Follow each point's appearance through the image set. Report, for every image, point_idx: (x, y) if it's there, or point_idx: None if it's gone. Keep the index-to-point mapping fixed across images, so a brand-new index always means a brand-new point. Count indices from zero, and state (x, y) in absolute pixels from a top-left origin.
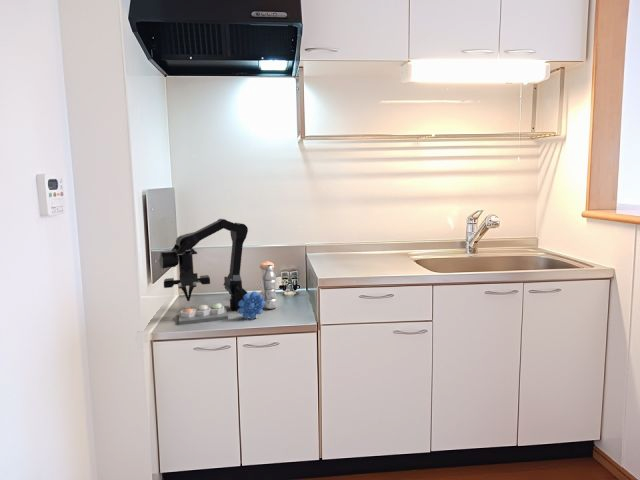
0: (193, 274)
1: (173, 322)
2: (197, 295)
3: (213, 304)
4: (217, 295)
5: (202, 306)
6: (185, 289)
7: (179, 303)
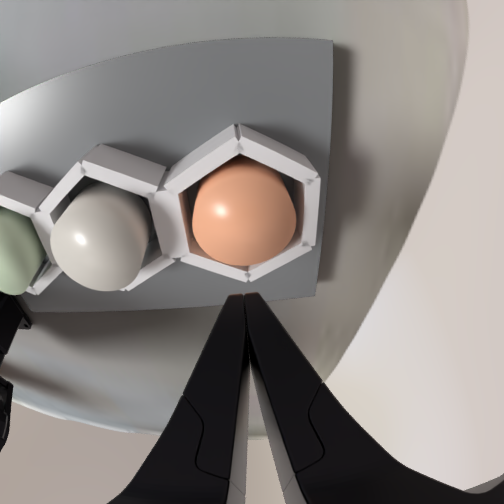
0: None
1: (364, 126)
2: None
3: (22, 277)
4: (154, 425)
5: (91, 245)
6: (329, 497)
7: None
